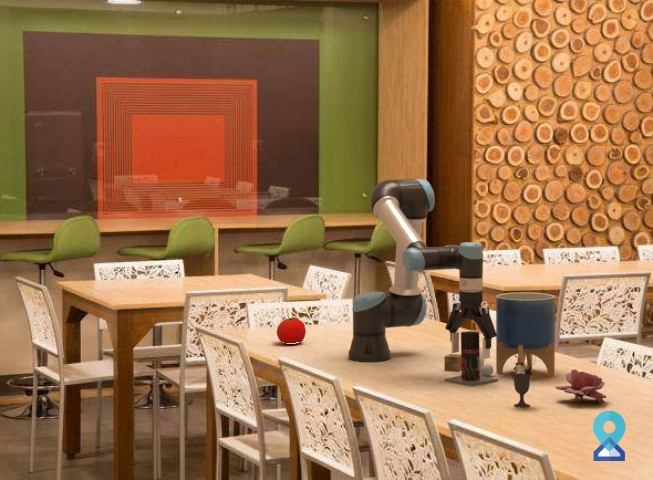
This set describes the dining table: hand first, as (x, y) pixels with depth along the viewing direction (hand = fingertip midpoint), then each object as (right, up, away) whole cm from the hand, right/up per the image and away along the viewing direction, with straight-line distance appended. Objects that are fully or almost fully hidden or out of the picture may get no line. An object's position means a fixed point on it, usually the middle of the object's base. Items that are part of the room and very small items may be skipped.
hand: (470, 355), depth 405 cm
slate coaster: (0, -8, 0) cm, 8 cm away
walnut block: (-3, -7, +20) cm, 21 cm away
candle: (+3, -7, +14) cm, 16 cm away
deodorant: (0, -8, 0) cm, 8 cm away
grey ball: (+6, -8, +8) cm, 13 cm away
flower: (+30, -11, -32) cm, 45 cm away
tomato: (-60, -3, +74) cm, 96 cm away
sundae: (+11, -12, -36) cm, 40 cm away
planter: (+19, -8, +10) cm, 23 cm away
